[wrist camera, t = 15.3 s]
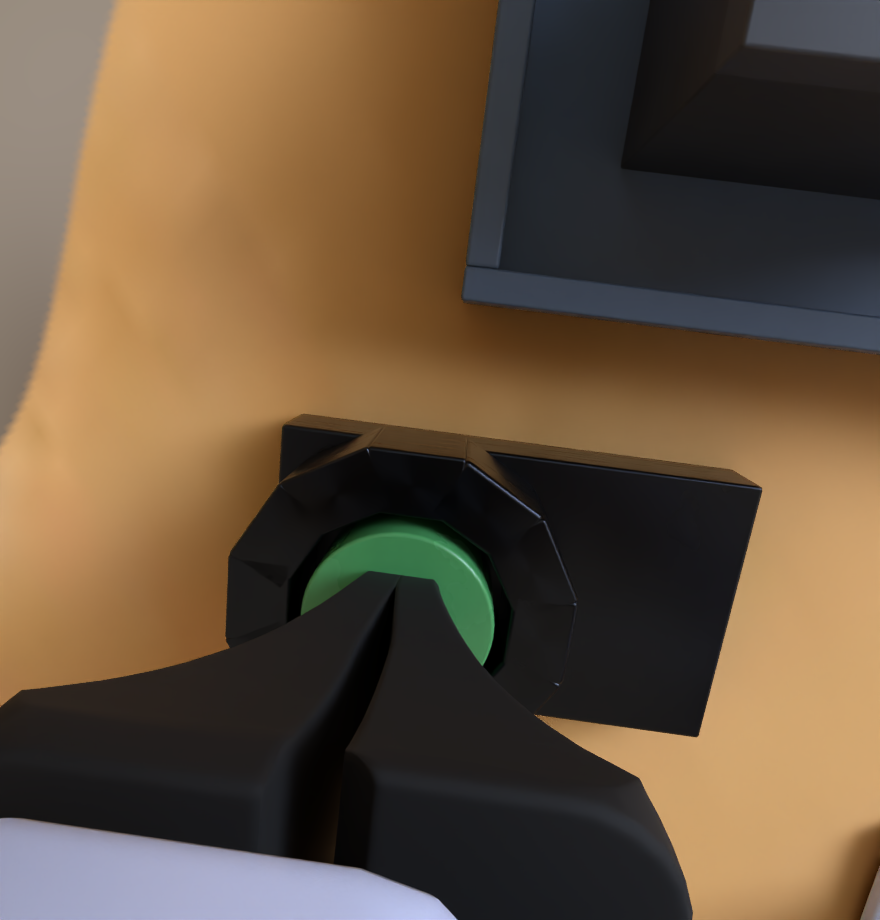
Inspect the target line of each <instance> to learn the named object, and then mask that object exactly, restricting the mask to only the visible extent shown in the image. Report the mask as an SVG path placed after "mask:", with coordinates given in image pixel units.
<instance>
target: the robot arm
mask: <svg viewBox="0 0 880 920" xmlns="http://www.w3.org/2000/svg"><path fill="white" fill-rule="evenodd" d="M692 915H693V911H692V906H691V902H690V898H689V893H688V889H687V885H686V880H685V878H684V875H683V872H682V870H681V867H680V864H679V862H678V859H677V856H676V854H675V851H674V848H673V846H672V844H671V841H670V839H669V837H668V835H667V833H666V830H665V828H664V826H663V824H662V822H661V820H660V818H659V816H658V814H657V812H656V810H655V808H654V806H653V804H652V803H651V801H650V799H649V797H648V795H647V793H646V791H645V789H644V787H643V785H642V782H641V781H640V779H639V778H638V777H636V776H634V775H632V774H630V773H629V772H627V771H625V770H623V769H621V768H619V767H617V766H615V765H614V764H612V763H610V762H608V761H606V760H604V759H602V758H600V757H598V756H597V755H595V754H593V753H591V752H589V751H587V750H585V749H583V748H582V747H580V746H578V745H577V744H575V743H574V742H572V741H571V740H569V739H568V738H566V737H565V736H563V735H562V734H560V733H559V732H557V731H556V730H554V729H553V728H551V727H550V726H548V725H547V724H546V723H544V722H543V721H542V720H540V719H539V718H537V717H536V716H535V715H533V714H532V713H531V712H530V711H529V710H527V709H526V708H525V707H524V706H523V705H522V704H520V703H519V702H518V701H517V700H516V699H515V698H513V697H512V696H511V695H510V694H509V693H508V692H507V691H506V690H505V689H504V688H503V687H501V686H500V685H499V684H498V683H497V681H496V680H495V679H494V678H493V677H492V676H491V675H490V674H489V673H488V672H487V670H486V669H485V668H484V667H483V666H482V665H481V664H480V662H479V661H478V660H477V658H476V657H475V656H474V654H473V653H472V651H471V650H470V648H469V647H468V645H467V644H466V642H465V641H464V639H463V638H462V636H461V634H460V633H459V631H458V629H457V627H456V626H455V624H454V622H453V620H452V618H451V616H450V614H449V612H448V610H447V608H446V606H445V604H444V601H443V599H442V596H441V593H440V590H439V586H438V584H437V583H436V582H435V580H434V579H427V578H419V577H412V576H404V575H397V574H390V573H382V572H375V571H367V572H366V573H364V574H363V575H361V576H360V577H359V578H357V579H356V580H354V581H353V582H352V583H350V584H349V585H347V586H346V587H345V588H343V589H342V590H340V591H339V592H338V593H336V594H335V595H333V596H332V597H330V598H329V599H327V600H326V601H324V602H323V603H321V604H320V605H318V606H316V607H314V608H313V609H311V610H309V611H308V612H306V613H304V614H302V615H301V616H299V617H297V618H295V619H294V620H292V621H290V622H288V623H287V624H285V625H283V626H281V627H279V628H277V629H275V630H273V631H271V632H268V633H266V634H264V635H262V636H259V637H257V638H255V639H252V640H250V641H248V642H245V643H243V644H240V645H238V646H235V647H232V648H229V649H226V650H223V651H220V652H217V653H214V654H211V655H208V656H204V657H201V658H198V659H195V660H192V661H189V662H186V663H182V664H178V665H174V666H170V667H166V668H162V669H158V670H154V671H149V672H144V673H139V674H134V675H129V676H124V677H119V678H113V679H107V680H102V681H94V682H86V683H78V684H71V685H63V686H55V687H48V688H40V689H29V690H21V691H20V692H19V693H17V694H16V695H15V696H13V697H12V698H11V699H9V700H8V701H7V702H6V703H5V704H3V705H2V706H1V707H0V920H692ZM860 920H880V867H879V869H878V872H877V875H876V877H875V880H874V883H873V886H872V888H871V891H870V894H869V897H868V899H867V902H866V905H865V908H864V910H863V913H862V916H861V919H860Z"/></svg>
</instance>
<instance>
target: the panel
mask: <svg viewBox="0 0 880 920" xmlns="http://www.w3.org/2000/svg"><path fill="white" fill-rule="evenodd" d="M761 493H762V487H760V486H758V485H757V484H755V483H753V482H752V481H750V480H748V479H747V478H745V477H743V476H742V475H740V474H738V473H737V472H735V471H733V470H730V469H722V468H714V467H707V466H699V465H691V464H684V463H676V462H668V461H661V460H653V459H645V458H638V457H630V456H622V455H615V454H607V453H599V452H592V451H584V450H576V449H569V448H561V447H553V446H546V445H538V444H530V443H523V442H515V441H507V440H500V439H492V438H484V437H477V436H469V435H461V434H454V433H446V432H438V431H431V430H423V429H415V428H408V427H400V426H392V425H385V424H377V423H369V422H362V421H354V420H346V419H339V418H331V417H323V416H316V415H308V414H301V415H299V416H298V417H296V418H294V419H293V420H291V421H289V422H287V423H286V424H284V425H283V427H282V436H281V453H280V469H279V484H278V485H277V487H276V488H275V489H274V491H273V492H272V494H271V495H270V496H269V498H268V499H267V501H266V502H265V503H264V505H263V506H262V508H261V509H260V510H259V512H258V513H257V515H256V516H255V517H254V519H253V520H252V522H251V523H250V524H249V526H248V527H247V529H246V530H245V531H244V533H243V534H242V536H241V537H240V538H239V540H238V541H237V543H236V544H235V546H234V547H233V548H232V550H231V551H230V555H229V559H228V584H227V608H226V632H225V637H226V642H227V643H228V645H229V647H230V648H232V647H235V646H238V645H240V644H243V643H245V642H248V641H250V640H252V639H255V638H257V637H259V636H262V635H264V634H266V633H268V632H271V631H273V630H275V629H277V628H279V627H281V626H283V625H285V624H287V623H288V622H290V621H292V620H294V619H295V618H297V617H299V616H301V607H302V600H303V596H304V593H305V589H306V587H307V584H308V582H309V580H310V578H311V576H312V575H313V573H314V571H315V570H316V568H317V566H318V565H319V563H320V562H321V560H322V558H323V557H324V555H325V553H326V552H327V550H328V549H329V547H330V545H331V544H332V542H333V541H334V539H335V538H336V536H337V535H338V534H339V533H340V532H341V531H342V529H343V528H344V527H346V526H347V525H350V524H352V523H355V522H358V521H360V520H363V519H365V518H368V517H370V516H373V515H375V514H378V513H385V514H393V515H400V516H408V517H415V518H423V519H430V520H438V521H442V522H443V523H445V524H446V525H447V526H449V527H450V528H452V529H453V530H454V531H456V532H457V533H458V534H460V535H461V536H462V537H464V538H465V539H467V540H468V541H469V542H471V543H472V544H473V545H475V546H476V547H477V548H479V549H480V550H482V551H483V552H484V554H485V556H486V559H487V562H488V565H489V568H490V573H491V579H492V594H493V608H494V624H495V626H494V637H493V641H492V646H491V649H490V652H489V654H488V657H487V659H486V661H485V663H484V664H483V667H484V668H485V669H486V670H487V672H488V673H489V674H490V675H491V676H492V677H493V678H494V679H495V680H496V681H497V683H498V684H499V685H500V686H501V687H503V688H504V689H505V690H506V691H507V692H508V693H509V694H510V695H511V696H512V697H513V698H515V699H516V700H517V701H518V702H519V703H520V704H522V705H523V706H524V707H525V708H526V709H527V710H529V711H530V712H531V713H532V714H533V715H541V716H548V717H556V718H563V719H570V720H577V721H584V722H591V723H598V724H605V725H612V726H620V727H627V728H634V729H641V730H648V731H655V732H662V733H669V734H676V735H683V736H691V737H698V735H699V732H700V728H701V724H702V720H703V716H704V712H705V709H706V705H707V701H708V697H709V693H710V689H711V686H712V682H713V678H714V674H715V670H716V666H717V662H718V659H719V655H720V651H721V647H722V643H723V639H724V636H725V632H726V628H727V624H728V620H729V616H730V612H731V609H732V605H733V601H734V597H735V593H736V589H737V586H738V582H739V578H740V574H741V570H742V566H743V562H744V559H745V555H746V551H747V547H748V543H749V539H750V536H751V532H752V528H753V524H754V520H755V516H756V513H757V509H758V505H759V501H760V497H761Z"/></svg>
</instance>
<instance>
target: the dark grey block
mask: <svg viewBox="0 0 880 920" xmlns="http://www.w3.org/2000/svg"><path fill="white" fill-rule="evenodd" d="M621 168H622V169H629V170H637V171H645V172H654V173H662V174H670V175H679V176H687V177H695V178H704V179H712V180H720V181H728V182H737V183H745V184H753V185H762V186H770V187H778V188H787V189H795V190H803V191H812V192H820V193H828V194H837V195H845V196H853V197H862V198H870V199H878V200H880V0H650V5H649V10H648V16H647V21H646V27H645V33H644V38H643V44H642V49H641V55H640V61H639V66H638V72H637V77H636V83H635V89H634V94H633V100H632V105H631V111H630V117H629V122H628V128H627V133H626V139H625V145H624V150H623V156H622V161H621Z"/></svg>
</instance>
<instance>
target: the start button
mask: <svg viewBox="0 0 880 920" xmlns="http://www.w3.org/2000/svg"><path fill="white" fill-rule="evenodd" d="M367 571H375V572H382V573H390V574H397V575H404V576H412V577H419V578H427V579H434V580H435V582H436V583H437V584H438V586H439V590H440V593H441V596H442V599H443V601H444V604H445V606H446V608H447V610H448V612H449V614H450V616H451V618H452V620H453V622H454V624H455V626H456V627H457V629H458V631H459V633H460V634H461V636H462V638H463V639H464V641H465V642H466V644H467V645H468V647H469V648H470V650H471V651H472V653H473V654H474V656H475V657H476V658H477V660H478V661H479V662H480V664H481V665H482V666H483V664H484V663H485V661H486V659H487V657H488V654H489V652H490V649H491V646H492V641H493V637H494V626H495V624H494V608H493V594H492V579H491V573H490V568H489V565H488V562H487V559H486V556H485V554H484V552H483V551H482V550H480V549H479V548H477V547H476V546H475V545H473V544H472V543H471V542H469V541H468V540H467V539H465V538H464V537H462V536H461V535H460V534H458V533H457V532H456V531H454V530H453V529H452V528H450V527H449V526H447V525H446V524H445V523H443V522H442V521H438V520H430V519H423V518H415V517H408V516H400V515H393V514H385V513H378V514H375V515H373V516H370V517H368V518H365V519H363V520H360V521H358V522H355V523H352V524H350V525H347V526H346V527H344V528H343V529H342V531H341V532H340V533H339V534H338V535H337V536H336V538H335V539H334V541H333V542H332V544H331V545H330V547H329V549H328V550H327V552H326V553H325V555H324V557H323V558H322V560H321V562H320V563H319V565H318V566H317V568H316V570H315V571H314V573H313V575H312V576H311V578H310V580H309V582H308V584H307V587H306V589H305V593H304V596H303V600H302V607H301V615H302V614H304V613H306V612H308V611H309V610H311V609H313V608H314V607H316V606H318V605H320V604H321V603H323V602H324V601H326V600H327V599H329V598H330V597H332V596H333V595H335V594H336V593H338V592H339V591H340V590H342V589H343V588H345V587H346V586H347V585H349V584H350V583H352V582H353V581H354V580H356V579H357V578H359V577H360V576H361V575H363V574H364V573H366V572H367Z"/></svg>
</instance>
